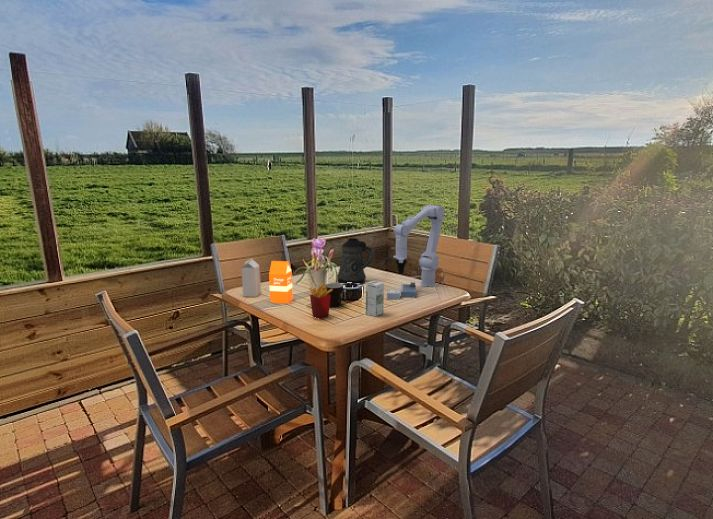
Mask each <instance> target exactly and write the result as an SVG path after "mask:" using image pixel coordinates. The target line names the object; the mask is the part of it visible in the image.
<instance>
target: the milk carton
mask: <svg viewBox="0 0 713 519" xmlns="http://www.w3.org/2000/svg"><path fill="white" fill-rule="evenodd" d="M260 268H261V267H260V265H259V264H258V262H256V261H255V260H254V257H251V258H249V259H248V260H246V261H245V262H244V263H243V265H242V267H241V268H240V269H241V283H242V286H241V287H242V296H243V298H245V297H246V298H250V297H251V298H257V297H259V295H260V294H262V288H261V286H262V285H261V271H260Z"/></svg>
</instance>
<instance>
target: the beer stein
mask: <svg viewBox="0 0 713 519" xmlns="http://www.w3.org/2000/svg"><path fill="white" fill-rule="evenodd" d="M340 249H341V257H340V258H341V259H340V265H339V269H338V272H337V275H336V278H337V277H338V278H337V283H347V282H352V283H361V284H360V285H363V284H364V283H366V278H367V276H366V273H365V268H367V267H368V266H369V265H370V263H371V261H373V260H372V259H373V255H374V254H373V250H372V248H371V247H369V246H367V243H366V242H365V241H361V240H359V239H358V238H355V237H353V238H352V237H351V238H348V239H347V241H346V242H344V243H343V244H342V245H341V246H340ZM362 252H365V253H367V254H368V257H367V258H366V260H365V262H364V263H363V255H362Z"/></svg>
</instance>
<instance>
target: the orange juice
mask: <svg viewBox="0 0 713 519" xmlns="http://www.w3.org/2000/svg"><path fill="white" fill-rule="evenodd" d="M292 273H293V272H292V268H291V265H290V262H289V261H288V260H287V261H286V260H285V261H284V260H280V261H279V260H271V264H270V268H269V273H268V278H269V279H268V280H269V281H268V282H269V299H270V300H269V301H270V302H273V303H272V304H285V303H288V304H289V303H290V302H291V301H292V300H294V299H293V297H294V296H293V274H292Z"/></svg>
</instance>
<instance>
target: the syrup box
mask: <svg viewBox="0 0 713 519" xmlns="http://www.w3.org/2000/svg"><path fill="white" fill-rule="evenodd" d="M365 289H366V290H365V314H366V315H368V314H369V316H371V315H372V317H378V316H380V315H383V314H384V298H385V297H384V296H385V283H384V282H382V281H379V280H373V281H372V280H371V281H369V282H365ZM382 313H383V314H382Z"/></svg>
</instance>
